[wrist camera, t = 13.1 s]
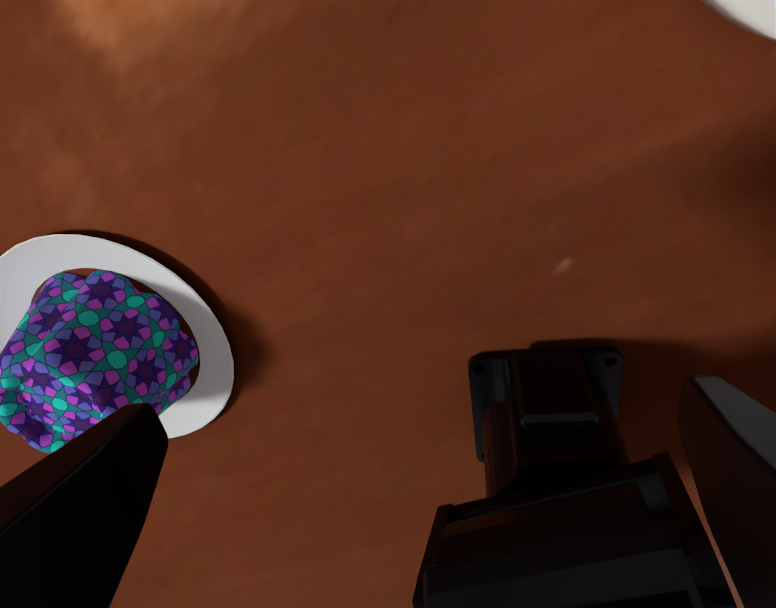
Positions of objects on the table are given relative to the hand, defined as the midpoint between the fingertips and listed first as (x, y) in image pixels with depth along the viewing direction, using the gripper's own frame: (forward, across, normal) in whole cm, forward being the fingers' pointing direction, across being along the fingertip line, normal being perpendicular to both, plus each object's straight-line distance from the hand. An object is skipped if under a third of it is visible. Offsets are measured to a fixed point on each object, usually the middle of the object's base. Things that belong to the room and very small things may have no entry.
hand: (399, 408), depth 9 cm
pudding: (+14, +16, +7) cm, 22 cm away
